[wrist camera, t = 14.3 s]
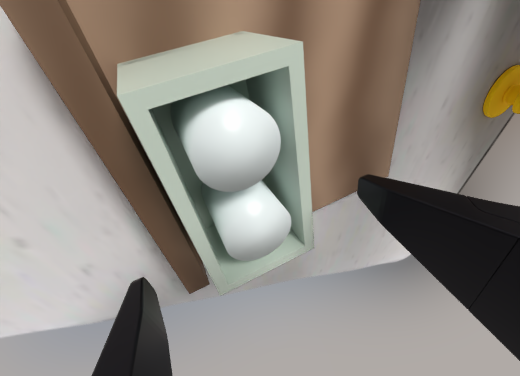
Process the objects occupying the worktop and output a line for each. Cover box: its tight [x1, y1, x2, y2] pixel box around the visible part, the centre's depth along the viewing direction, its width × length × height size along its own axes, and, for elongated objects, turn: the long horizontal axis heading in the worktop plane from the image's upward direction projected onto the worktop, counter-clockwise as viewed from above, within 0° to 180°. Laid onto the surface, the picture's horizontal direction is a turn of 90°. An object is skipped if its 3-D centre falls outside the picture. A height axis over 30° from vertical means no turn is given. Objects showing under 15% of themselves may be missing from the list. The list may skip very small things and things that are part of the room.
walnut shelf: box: [0, 0, 421, 294], centre depth 16 cm, size 20×18×3 cm
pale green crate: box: [117, 31, 314, 296], centre depth 13 cm, size 6×11×6 cm, turn 11°
